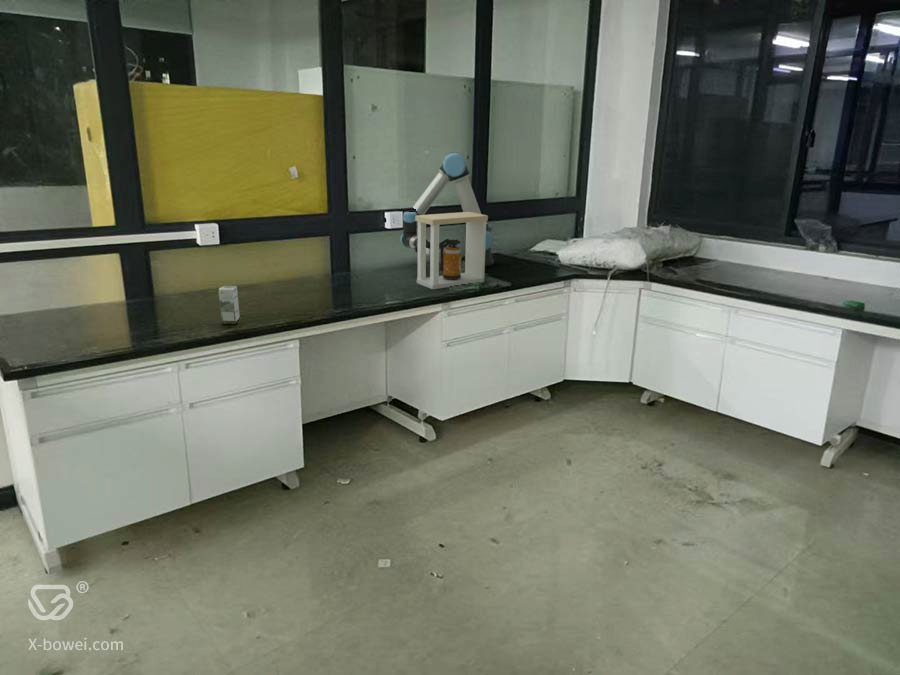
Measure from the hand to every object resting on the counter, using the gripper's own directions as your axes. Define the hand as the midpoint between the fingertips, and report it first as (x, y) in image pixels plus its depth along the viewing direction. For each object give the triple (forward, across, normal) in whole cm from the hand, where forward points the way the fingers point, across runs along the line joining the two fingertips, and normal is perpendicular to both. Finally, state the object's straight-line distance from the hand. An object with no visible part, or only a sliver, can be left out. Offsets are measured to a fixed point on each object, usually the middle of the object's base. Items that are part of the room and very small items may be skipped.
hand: (440, 250), depth 323 cm
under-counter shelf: (+10, 0, -15) cm, 18 cm away
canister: (+10, +1, -13) cm, 16 cm away
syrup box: (+23, +113, -15) cm, 116 cm away
